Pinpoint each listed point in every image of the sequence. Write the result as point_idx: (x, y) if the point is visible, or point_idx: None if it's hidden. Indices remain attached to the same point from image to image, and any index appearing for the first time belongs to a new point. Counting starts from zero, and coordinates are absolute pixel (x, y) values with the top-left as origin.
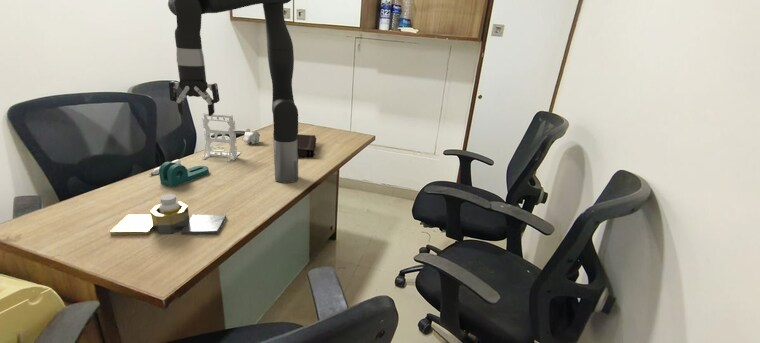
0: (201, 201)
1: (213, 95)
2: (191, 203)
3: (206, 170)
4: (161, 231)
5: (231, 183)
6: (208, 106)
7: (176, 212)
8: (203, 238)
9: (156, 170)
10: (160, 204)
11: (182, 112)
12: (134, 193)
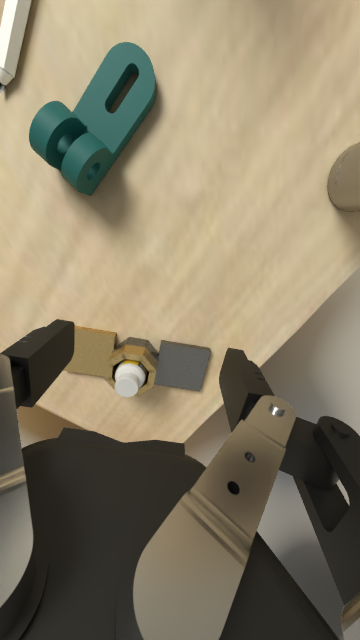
0: (164, 281)
1: (327, 544)
2: (148, 287)
3: (151, 97)
4: None
5: (219, 190)
6: (234, 425)
7: (144, 387)
8: (183, 392)
9: (5, 68)
10: (116, 379)
11: (65, 365)
12: (24, 220)
